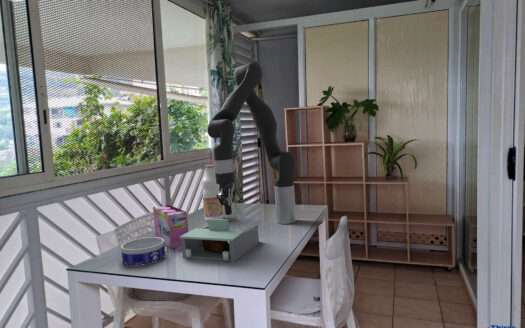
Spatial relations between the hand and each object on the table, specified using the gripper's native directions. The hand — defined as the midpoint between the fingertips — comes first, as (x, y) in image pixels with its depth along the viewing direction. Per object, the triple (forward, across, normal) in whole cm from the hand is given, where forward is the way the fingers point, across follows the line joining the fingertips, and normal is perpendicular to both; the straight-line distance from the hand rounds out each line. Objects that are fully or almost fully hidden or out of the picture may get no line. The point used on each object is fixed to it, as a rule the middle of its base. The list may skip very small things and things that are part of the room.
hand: (228, 214), depth 146 cm
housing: (+12, +8, 0) cm, 14 cm away
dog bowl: (+12, +21, -25) cm, 35 cm away
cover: (+4, +13, 0) cm, 14 cm away
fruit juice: (+12, -35, -27) cm, 46 cm away
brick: (+11, +12, 0) cm, 16 cm away
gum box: (+12, 0, -28) cm, 31 cm away
